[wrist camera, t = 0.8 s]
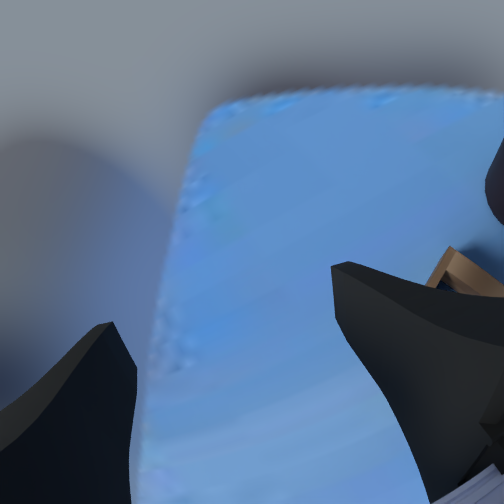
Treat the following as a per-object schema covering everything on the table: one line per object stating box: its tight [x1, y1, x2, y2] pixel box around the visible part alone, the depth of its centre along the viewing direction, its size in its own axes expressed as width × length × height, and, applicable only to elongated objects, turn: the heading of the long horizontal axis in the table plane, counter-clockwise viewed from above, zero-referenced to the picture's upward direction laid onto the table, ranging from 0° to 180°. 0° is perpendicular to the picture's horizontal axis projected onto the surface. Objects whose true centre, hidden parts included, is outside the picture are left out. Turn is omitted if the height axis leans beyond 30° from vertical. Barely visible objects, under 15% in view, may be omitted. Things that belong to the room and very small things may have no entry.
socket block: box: [425, 246, 504, 297], centre depth 18 cm, size 6×8×4 cm
